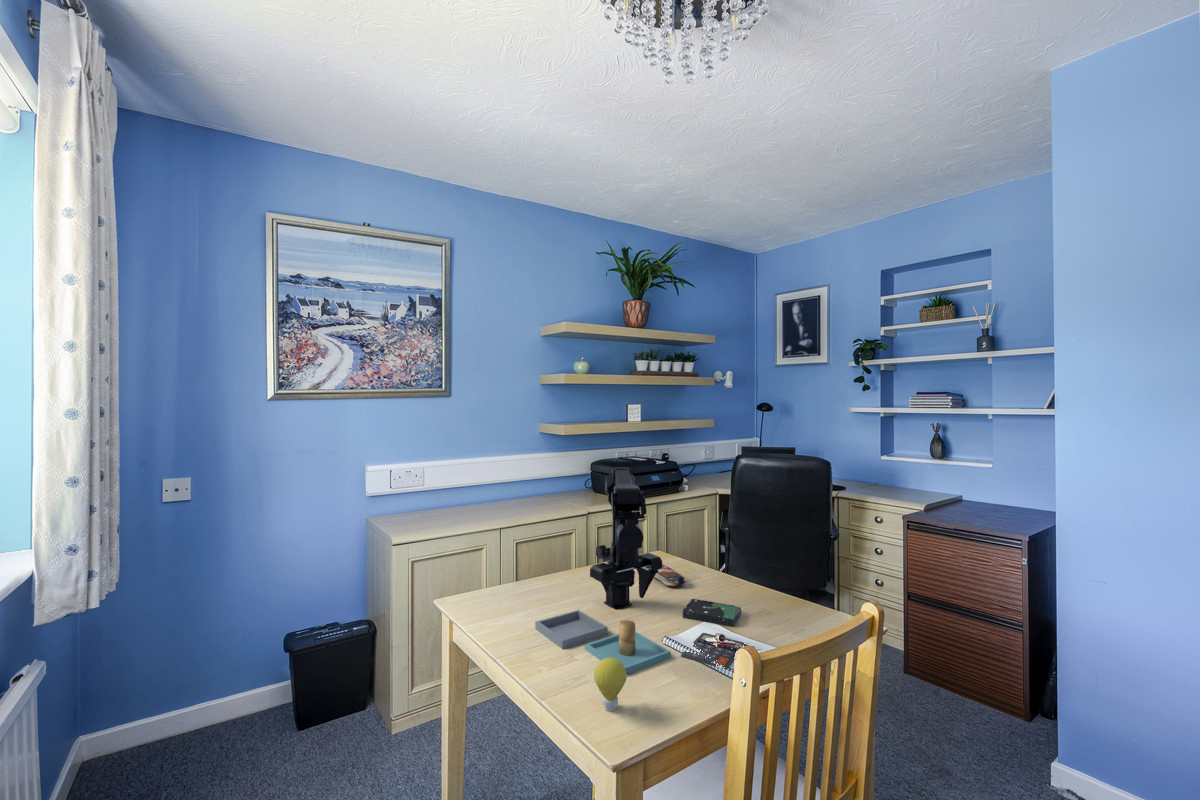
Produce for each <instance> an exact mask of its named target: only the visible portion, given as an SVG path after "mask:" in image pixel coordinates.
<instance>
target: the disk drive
mask: <svg viewBox="0 0 1200 800" xmlns="http://www.w3.org/2000/svg"><path fill="white" fill-rule="evenodd" d="M741 615H742V609H741V606H735V605H733V604H726V603H721V602H716V601H715V602H714V601H710V600H709V601H708V600H703V599H696V598H691V600H690V601H689V602H688V603H687V605H686V607H683V610H682V618H683V619H685V620H692V621H696V622H697V621H698V622H703V623H708V624H709V623H710V624H714V625H719V626H725V627H730V628H735V626H736V624H737V623H738V620H739V619H740V617H741Z"/></svg>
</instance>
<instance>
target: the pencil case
mask: <svg viewBox="0 0 1200 800" xmlns="http://www.w3.org/2000/svg"><path fill="white" fill-rule="evenodd" d="M654 578H655V579H656V580H658V582H660V583H661V584H663V585H665V586H667V587H671V588H677V587H679V586H682V585H684V584H686V581H685V577H684V576H682V574H680V573H679V572H677V571H676V570H674V569H673V568H671V567H669V566H667V565H666V564H663V563H662V569H659V572H658V573H656V575H655V576H654ZM654 578H653V579H654Z"/></svg>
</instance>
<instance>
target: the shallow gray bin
mask: <svg viewBox="0 0 1200 800" xmlns="http://www.w3.org/2000/svg"><path fill="white" fill-rule="evenodd" d="M535 630H536V631H537V632H539V633H540V634H541V635H542V636H544V637H545V638H547V640H549V641H551V642H552V643H553V644H555V645H556V646H558V648H560V649H562V650H564V649H567V648H569V647H574V646H576V645H580V644H583V643H585V642H589V641H592V640H595V639H599V638H601V637H604V636H608V626H607V625H605V624H603V623H601V622H600V621H598V620H596V619H595V618H593V617H591V616H590V615H588V614H586V613H585V612H583V611H582V610H580V609H577V610H572V611H569V612H566V613H561V614H559V615H554V616H552V617H547V618H544V619H540V620H536V621H535Z"/></svg>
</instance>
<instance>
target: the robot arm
mask: <svg viewBox="0 0 1200 800" xmlns="http://www.w3.org/2000/svg"><path fill="white" fill-rule="evenodd" d="M604 484H605V487H604V489H605V494H606V495H607V501H608V503H609V505H610V507H611V516H612V526H611V527H612V532H611V533H612V534H611V536H612V538H611V539H612V540H611V542H612V543H611V547H606V545H605V544H603V545H602V544H601V545H597V546H596V547H595V555H596V558H597V559H598V560H602V563H597V564H592V565H591V567H590V570H589V577H591V578H592V579H594V580H595V581H598V582H600V583H601V585H602V587H603V589H604V592H605V600H604V601H603V604H605V605H606V606H609V608H612V609H614V610H621V609H624V608H628V607H632V606H633V605H634V603H632V602H631V601H630V588H631V587H633V586H634V585H635V576H636V575H635V574H636V571H637V574H638V594H639V595H638V596H639V598H640V599H644V597H645V596H646V593H647V591H648V589H649V587H650V585H651V584H652V581H653V580H654V576H655V575H656V573H658V572H659V569H662V564H663V560H662V558H661V557H660V556H658V555H656V554H653V553H650V552H646V553H642V554H640V553H639V552H640V551H639V549H642V548H643V543H644V542H643V541H644V534H643V531H642V529H641V527H640V521H639V519H640V520H644V519H645V516H646V515H647V504H646V497H645V495H644V492H643V491H642V492H641V489H640V487H639V486H638V485H637V484H636V477H635V475H634V474H633V473H631V468H629V467H614V468H612V471H611V472H610V473H609V474H608V475H606V476H605V483H604Z"/></svg>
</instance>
